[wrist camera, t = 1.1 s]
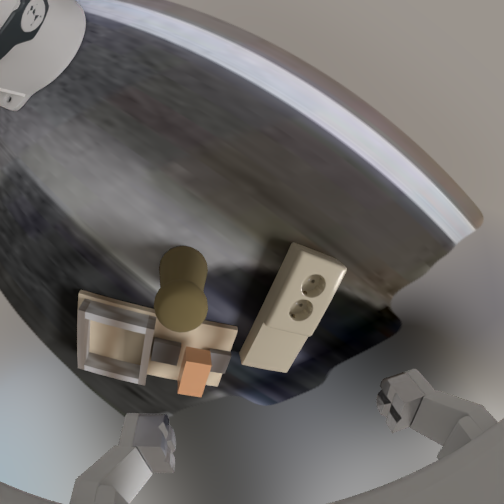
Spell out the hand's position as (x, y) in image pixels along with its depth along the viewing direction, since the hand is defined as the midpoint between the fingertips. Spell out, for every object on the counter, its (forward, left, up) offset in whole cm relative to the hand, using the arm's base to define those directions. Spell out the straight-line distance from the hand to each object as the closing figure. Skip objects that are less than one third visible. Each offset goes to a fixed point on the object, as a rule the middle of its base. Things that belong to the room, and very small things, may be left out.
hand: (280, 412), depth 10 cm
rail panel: (-5, -19, -28) cm, 34 cm away
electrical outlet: (+12, -9, -28) cm, 32 cm away
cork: (-3, -7, -28) cm, 29 cm away
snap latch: (+1, -19, -24) cm, 31 cm away
